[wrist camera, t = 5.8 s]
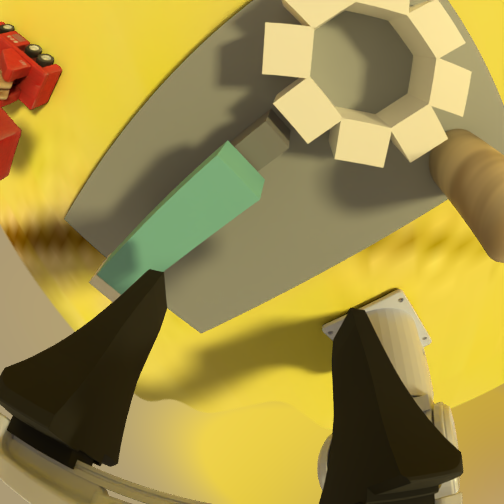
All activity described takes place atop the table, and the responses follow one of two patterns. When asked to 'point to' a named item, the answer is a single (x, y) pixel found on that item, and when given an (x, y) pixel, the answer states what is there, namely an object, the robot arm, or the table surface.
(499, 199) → the peg
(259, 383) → the table surface
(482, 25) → the table surface
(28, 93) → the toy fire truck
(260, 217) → the board
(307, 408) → the table surface
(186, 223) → the bar
